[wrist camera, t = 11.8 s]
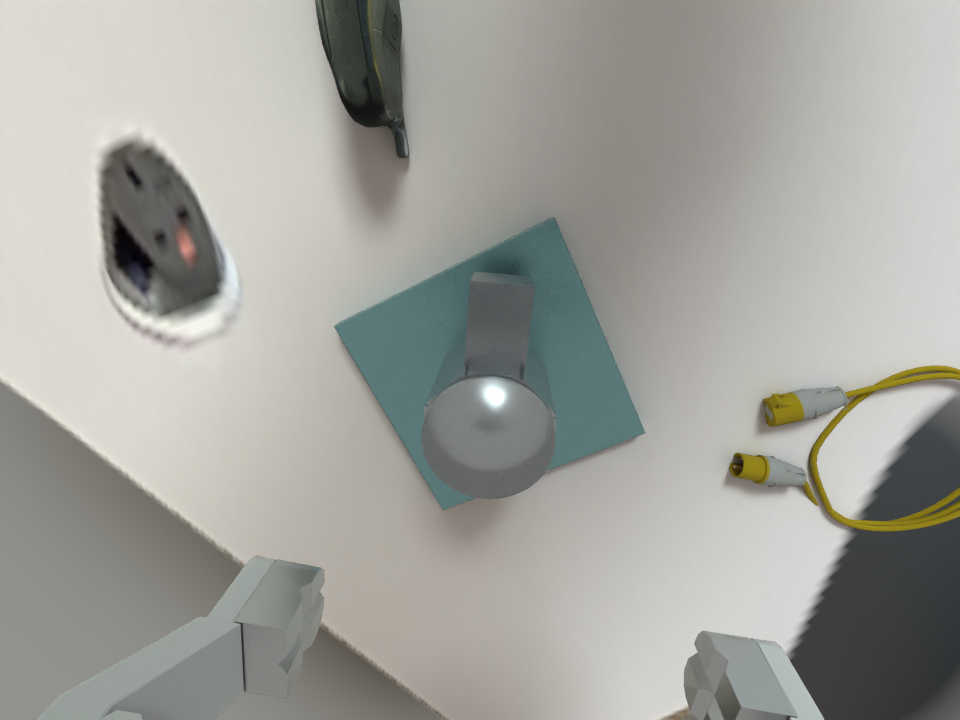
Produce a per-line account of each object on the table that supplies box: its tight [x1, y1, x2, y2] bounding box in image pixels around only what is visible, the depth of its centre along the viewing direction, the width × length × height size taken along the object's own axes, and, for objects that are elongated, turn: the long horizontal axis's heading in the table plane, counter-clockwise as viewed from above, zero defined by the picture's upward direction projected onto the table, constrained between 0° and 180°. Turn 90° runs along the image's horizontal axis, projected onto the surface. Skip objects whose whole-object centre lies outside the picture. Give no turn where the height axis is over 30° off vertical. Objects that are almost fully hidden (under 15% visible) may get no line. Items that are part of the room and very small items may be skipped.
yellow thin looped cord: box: [729, 366, 960, 531], centre depth 29 cm, size 12×16×2 cm
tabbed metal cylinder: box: [421, 272, 557, 499], centre depth 24 cm, size 10×6×8 cm, turn 176°
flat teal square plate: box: [334, 217, 645, 510], centre depth 26 cm, size 14×14×6 cm
